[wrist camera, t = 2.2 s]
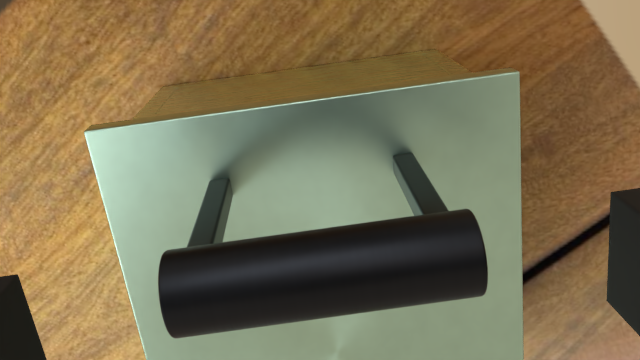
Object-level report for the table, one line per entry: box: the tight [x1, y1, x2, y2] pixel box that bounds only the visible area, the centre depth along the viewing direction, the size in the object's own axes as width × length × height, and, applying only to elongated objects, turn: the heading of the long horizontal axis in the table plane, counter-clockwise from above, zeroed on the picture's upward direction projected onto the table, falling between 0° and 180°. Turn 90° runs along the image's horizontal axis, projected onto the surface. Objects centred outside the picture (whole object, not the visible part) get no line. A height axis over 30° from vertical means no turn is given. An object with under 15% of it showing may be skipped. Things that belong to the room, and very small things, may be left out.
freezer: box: [133, 49, 473, 119], centre depth 29 cm, size 18×14×11 cm
